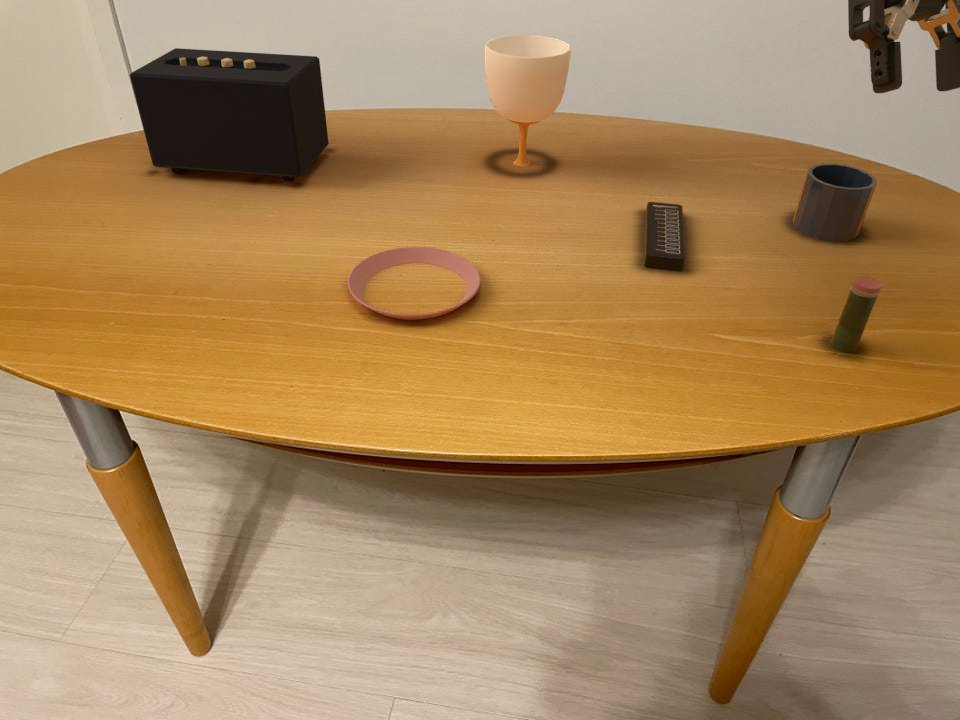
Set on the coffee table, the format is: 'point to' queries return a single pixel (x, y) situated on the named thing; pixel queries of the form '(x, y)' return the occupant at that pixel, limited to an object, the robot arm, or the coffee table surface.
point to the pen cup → (834, 202)
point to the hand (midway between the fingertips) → (920, 90)
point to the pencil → (856, 313)
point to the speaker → (232, 111)
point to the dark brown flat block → (664, 237)
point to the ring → (413, 256)
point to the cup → (526, 80)
